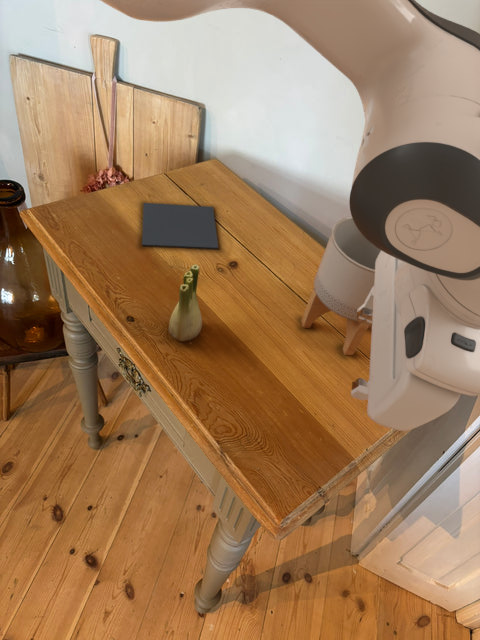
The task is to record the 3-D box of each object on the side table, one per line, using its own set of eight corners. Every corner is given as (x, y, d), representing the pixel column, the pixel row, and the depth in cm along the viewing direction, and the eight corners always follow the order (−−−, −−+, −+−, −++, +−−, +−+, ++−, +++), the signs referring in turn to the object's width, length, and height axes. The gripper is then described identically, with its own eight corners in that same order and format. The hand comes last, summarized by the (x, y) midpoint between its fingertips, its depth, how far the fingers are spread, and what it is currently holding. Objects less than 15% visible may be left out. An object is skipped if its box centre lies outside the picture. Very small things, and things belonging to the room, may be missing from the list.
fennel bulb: (187, 314, 75) (193, 258, 66) (209, 332, 73) (218, 277, 64) (160, 332, 71) (162, 275, 62) (182, 351, 70) (187, 296, 61)
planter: (294, 296, 81) (322, 212, 68) (362, 298, 84) (402, 217, 71) (310, 355, 73) (346, 272, 60) (385, 355, 75) (436, 275, 62)
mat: (142, 246, 84) (142, 244, 84) (143, 204, 93) (143, 202, 92) (218, 249, 87) (218, 247, 86) (212, 208, 95) (213, 206, 95)
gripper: (417, 192, 44) (342, 270, 56) (419, 384, 33) (325, 432, 45) (471, 217, 45) (387, 288, 57) (490, 411, 34) (381, 451, 46)
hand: (359, 353), depth 51 cm, fingers open, 8 cm apart
